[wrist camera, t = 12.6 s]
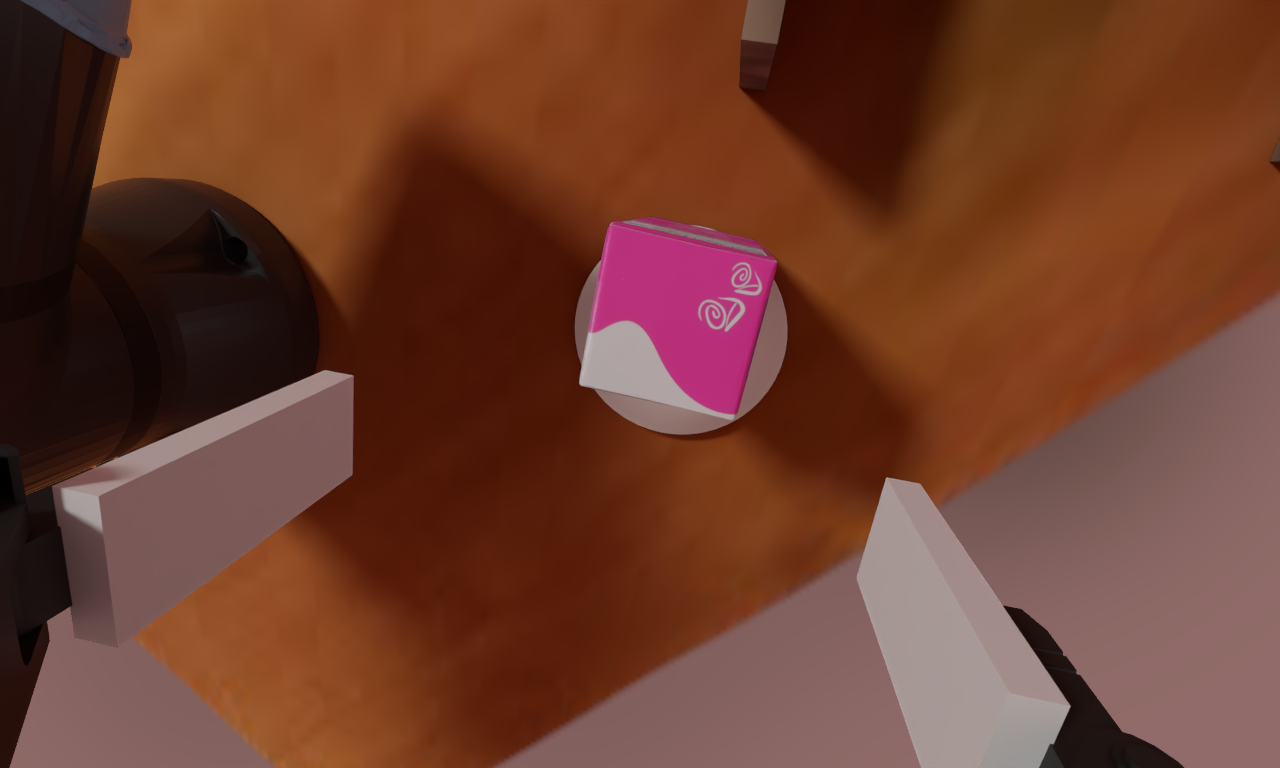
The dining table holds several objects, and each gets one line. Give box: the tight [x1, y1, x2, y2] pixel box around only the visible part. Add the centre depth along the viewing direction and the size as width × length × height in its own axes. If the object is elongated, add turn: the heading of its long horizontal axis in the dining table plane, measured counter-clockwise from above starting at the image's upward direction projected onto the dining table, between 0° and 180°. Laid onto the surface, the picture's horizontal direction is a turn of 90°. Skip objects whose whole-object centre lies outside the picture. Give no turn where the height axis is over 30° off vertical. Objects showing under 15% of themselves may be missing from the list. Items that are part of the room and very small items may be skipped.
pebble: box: [575, 225, 788, 434], centre depth 33 cm, size 11×11×1 cm
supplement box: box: [579, 217, 778, 420], centre depth 26 cm, size 6×6×12 cm
